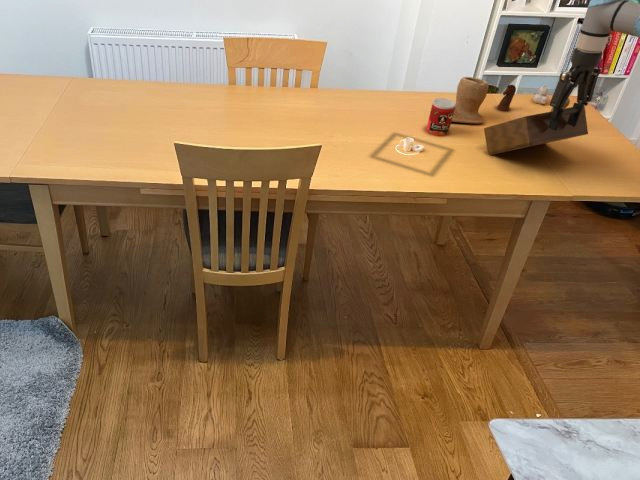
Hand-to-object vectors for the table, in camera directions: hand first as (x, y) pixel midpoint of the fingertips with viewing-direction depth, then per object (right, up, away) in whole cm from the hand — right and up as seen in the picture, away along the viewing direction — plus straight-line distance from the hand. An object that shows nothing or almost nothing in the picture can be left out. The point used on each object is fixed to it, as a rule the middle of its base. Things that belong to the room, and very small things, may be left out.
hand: (561, 126), depth 180 cm
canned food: (-30, +5, +27) cm, 41 cm away
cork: (+14, +9, +34) cm, 38 cm away
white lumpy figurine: (+17, +22, +49) cm, 56 cm away
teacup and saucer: (-42, -6, +14) cm, 45 cm away
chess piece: (0, +18, +43) cm, 47 cm away
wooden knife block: (-2, -3, +8) cm, 9 cm away
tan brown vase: (-19, +12, +36) cm, 42 cm away
